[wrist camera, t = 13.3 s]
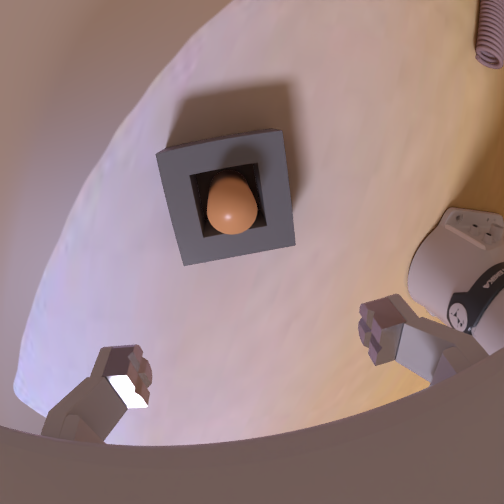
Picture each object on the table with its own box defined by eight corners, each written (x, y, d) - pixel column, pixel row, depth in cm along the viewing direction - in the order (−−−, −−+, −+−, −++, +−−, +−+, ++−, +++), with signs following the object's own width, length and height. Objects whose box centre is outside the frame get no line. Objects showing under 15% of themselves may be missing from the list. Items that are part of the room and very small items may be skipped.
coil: (491, -26, 14) (488, 51, 21) (511, -8, 15) (508, 71, 21) (475, -20, 18) (468, 54, 25) (494, -3, 19) (488, 72, 26)
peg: (244, 166, 30) (253, 182, 23) (250, 202, 32) (260, 229, 24) (206, 173, 30) (202, 191, 22) (213, 209, 31) (212, 238, 24)
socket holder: (272, 128, 28) (282, 130, 24) (284, 226, 33) (295, 245, 29) (165, 148, 28) (155, 153, 23) (188, 244, 33) (183, 266, 28)
